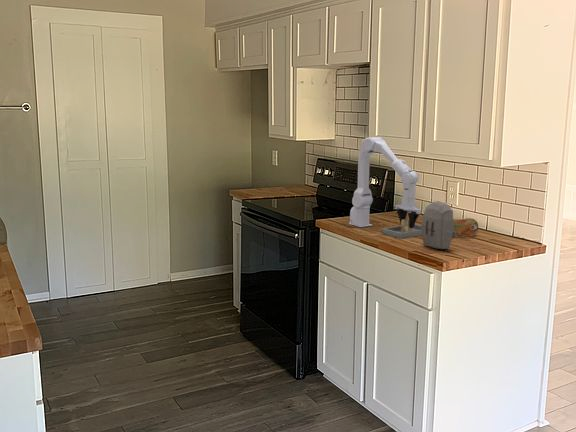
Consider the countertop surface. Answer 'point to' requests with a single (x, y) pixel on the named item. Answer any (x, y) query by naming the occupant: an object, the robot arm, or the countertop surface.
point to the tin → (464, 227)
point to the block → (405, 226)
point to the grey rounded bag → (437, 225)
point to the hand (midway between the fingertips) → (407, 226)
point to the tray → (398, 234)
